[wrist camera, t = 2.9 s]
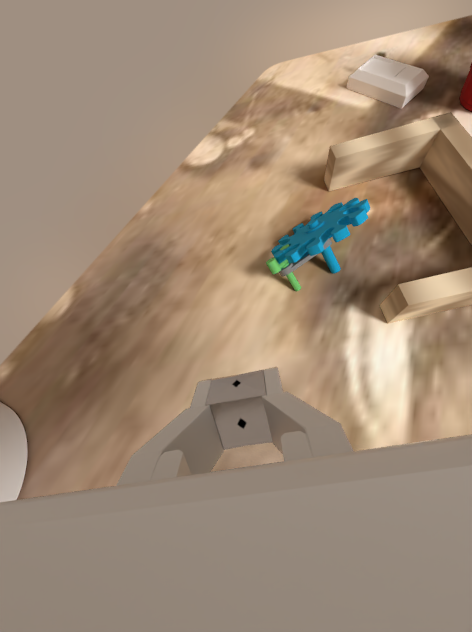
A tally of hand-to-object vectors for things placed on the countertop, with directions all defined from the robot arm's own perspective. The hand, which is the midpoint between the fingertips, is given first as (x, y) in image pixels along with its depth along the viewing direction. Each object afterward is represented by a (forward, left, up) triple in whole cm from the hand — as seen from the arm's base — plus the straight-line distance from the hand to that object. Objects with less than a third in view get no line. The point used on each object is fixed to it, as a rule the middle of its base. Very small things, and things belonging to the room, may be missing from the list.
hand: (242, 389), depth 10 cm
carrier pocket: (+20, +15, -16) cm, 30 cm away
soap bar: (+26, +39, -17) cm, 50 cm away
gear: (+8, +15, -16) cm, 24 cm away
